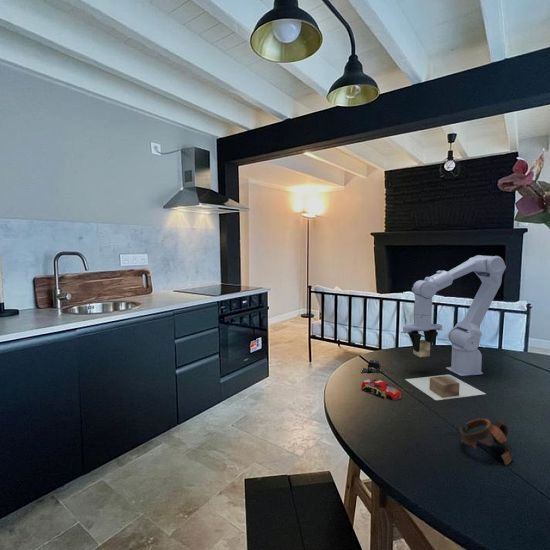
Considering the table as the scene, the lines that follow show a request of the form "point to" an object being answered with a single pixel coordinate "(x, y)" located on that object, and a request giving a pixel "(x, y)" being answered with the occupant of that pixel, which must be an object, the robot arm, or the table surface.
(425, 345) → the maple block
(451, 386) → the walnut block
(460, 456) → the table surface
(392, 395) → the race car
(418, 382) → the board
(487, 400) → the table surface
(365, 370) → the black angular block
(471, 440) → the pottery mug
